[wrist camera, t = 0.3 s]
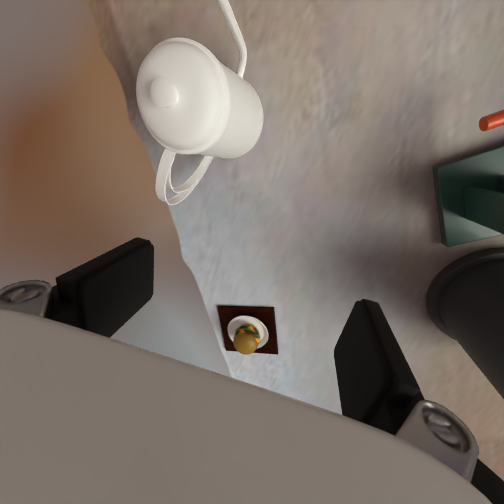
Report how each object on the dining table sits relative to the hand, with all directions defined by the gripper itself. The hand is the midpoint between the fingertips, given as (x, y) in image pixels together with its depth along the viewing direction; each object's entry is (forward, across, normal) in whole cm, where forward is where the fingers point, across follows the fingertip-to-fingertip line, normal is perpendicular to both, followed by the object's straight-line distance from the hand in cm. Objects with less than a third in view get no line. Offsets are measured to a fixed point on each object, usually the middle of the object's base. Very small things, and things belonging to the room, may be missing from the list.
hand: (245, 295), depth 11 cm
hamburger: (+31, +1, +30) cm, 43 cm away
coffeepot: (+31, +11, -9) cm, 34 cm away
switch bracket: (+31, -26, -5) cm, 41 cm away
